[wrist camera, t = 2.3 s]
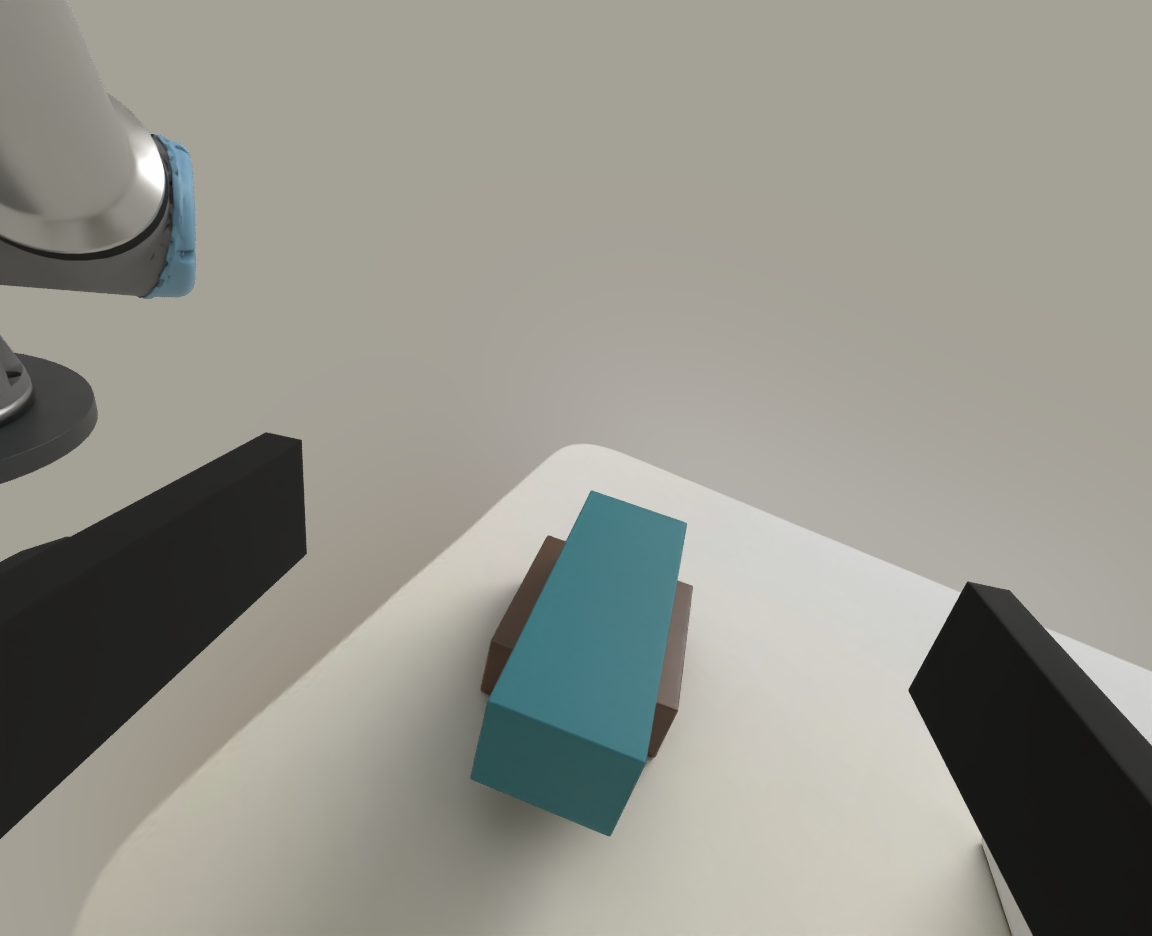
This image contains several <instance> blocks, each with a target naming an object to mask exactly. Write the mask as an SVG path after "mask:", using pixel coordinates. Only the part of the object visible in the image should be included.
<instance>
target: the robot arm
mask: <svg viewBox="0 0 1152 936" xmlns="http://www.w3.org/2000/svg"><path fill="white" fill-rule="evenodd" d="M195 240H196V238H195V205H194V186H193V171H192V163H191V160H190V154H189V152H188V150H187V149H186V148H185V147H184V146H182V145H181V144H180V143H177V142H174V141H170V140H167V139H165V138H164V137H163V136H161V135H155V134H151V135H150V134H149V132H148V131H147V130H146V129H145V127H144V126H143V125H142V123H141V122H140V121H139V120H138V119H137V118H136V117H135V116H134V114H133V113H132V112H131V111H130V110H129V109H127V108H126V107H125V106H124V105H123V104H122V103H121V102H120V101H118V100H117V99H115V98H114V97H113V96H111V95H110V94H109V93H107V92H106V90H105V88H104V85H103V83H102V81H101V78H100V76H99V74H98V71H97V69H96V66H95V64H94V62H93V59H92V57H91V54H90V52H89V50H88V47H87V45H86V43H85V40H84V38H83V36H82V33H81V31H80V28H79V26H78V24H77V21H76V19H75V17H74V14H73V12H72V10H71V7H70V5H69V3H68V0H0V285H10V286H23V287H34V288H47V289H59V290H71V291H83V292H96V293H108V294H121V295H133V296H138V297H139V298H145V299H151V298H153V297H181V296H185V295H187V294H188V293H189V292H190V291H191V290H192V289H193V287H194V284H195V271H196V263H195V261H196V260H195ZM34 399H35V394H34V390H33V386H32V383H31V379H30V377H29V375H28V373H27V371H26V369H25V367H24V366H23V364H22V363H21V362H20V360H19V359H18V358H17V356H16V355H15V354H14V353H13V351H12V350H11V349H10V347H9V346H8V345H7V343H6V342H5V341H4V340H3V338H2V337H1V336H0V428H1V427H3V426H5V425H7V424H9V423H11V422H13V421H15V420H16V419H18V418H19V417H21V416H22V415H23V414H25V413H26V412H27V411H28V410H29V409H30V407H31V406H32V404H33V402H34ZM306 554H307V549H306V527H305V507H304V484H303V461H302V440H299V439H294V438H290V437H285V436H281V435H276V434H271V433H264V434H262V435H260V436H258V437H256V438H255V439H253V440H251V441H249V442H247V443H245V444H243V445H241V446H239V447H238V448H236V449H234V450H232V451H230V452H228V453H226V454H225V455H223V456H221V457H219V458H217V459H215V460H213V461H212V462H210V463H208V464H206V465H204V466H202V467H200V468H198V469H196V470H195V471H193V472H191V473H189V474H187V475H185V476H183V477H181V478H180V479H178V480H176V481H174V482H172V483H170V484H168V485H166V486H165V487H163V488H161V489H159V490H157V491H155V492H153V493H152V494H150V495H148V496H146V497H144V498H142V499H140V500H138V501H137V502H135V503H133V504H131V505H129V506H127V507H125V508H124V509H122V510H120V511H118V512H116V513H114V514H112V515H110V516H108V517H107V518H105V519H103V520H101V521H99V522H97V523H95V524H93V525H92V526H90V527H88V528H86V529H84V530H83V531H80V532H78V533H77V534H75V535H73V536H71V537H64V538H61V539H58V540H55V541H52V542H48V543H46V544H42V545H39V546H36V547H33V548H30V549H26V550H23V551H21V552H19V553H17V554H15V555H13V556H11V557H9V558H7V559H5V560H3V561H1V562H0V839H1V838H2V837H3V836H4V835H5V834H6V833H7V832H8V831H9V830H10V829H12V827H14V826H15V825H16V824H17V823H18V822H19V821H20V820H21V819H22V818H23V817H24V816H25V815H27V814H28V813H29V812H30V811H31V810H32V809H33V808H34V807H35V806H36V805H37V804H38V803H39V802H41V801H42V800H43V799H44V798H45V797H46V796H47V795H48V794H49V793H50V792H51V791H52V790H53V789H54V788H56V786H58V785H59V784H60V783H61V782H62V781H63V780H64V779H65V778H66V777H67V776H68V775H70V774H71V773H72V772H73V771H74V770H75V769H76V768H77V767H78V766H79V765H80V764H81V763H82V762H83V761H84V760H85V759H87V758H88V757H89V756H90V755H91V754H92V753H93V752H94V751H95V750H96V749H97V748H99V747H100V746H101V745H102V744H103V743H104V742H105V741H106V740H107V739H108V738H109V737H110V736H111V735H113V734H114V733H115V732H116V731H117V730H118V729H119V728H120V727H121V726H122V725H123V724H124V723H125V722H127V721H128V719H130V718H131V717H132V716H133V715H134V714H135V713H136V712H137V711H138V710H139V709H140V708H141V707H143V705H145V704H146V703H147V702H148V701H149V700H150V699H151V698H152V697H153V696H154V695H156V694H157V693H158V692H159V691H160V690H161V689H162V688H163V687H164V686H165V685H166V684H167V683H168V682H169V681H171V680H172V679H173V678H174V677H175V676H176V675H177V674H178V673H179V672H180V671H181V670H182V669H183V668H185V667H186V666H187V665H188V664H189V663H190V662H191V661H192V660H193V659H194V658H195V657H196V656H197V655H199V654H200V653H201V652H202V651H203V650H204V649H205V648H206V647H207V646H208V645H209V644H210V643H211V642H212V641H214V639H216V638H217V637H218V636H219V635H220V634H221V633H222V632H223V631H224V630H225V629H226V628H228V627H229V626H230V625H231V624H232V623H233V622H234V621H235V620H236V619H237V618H238V617H239V616H240V615H242V614H243V613H244V612H245V611H246V610H247V609H248V608H249V607H250V606H251V605H252V604H253V603H254V602H255V601H257V599H258V598H260V597H261V596H262V595H263V594H264V593H265V592H266V591H267V590H268V589H269V588H270V587H272V586H273V585H274V584H275V583H276V582H277V581H278V580H279V579H280V578H281V577H282V576H283V575H284V574H286V573H287V572H288V571H289V570H290V569H291V568H292V567H293V566H294V565H295V564H296V563H297V562H298V561H300V560H301V559H302V558H303V557H304V556H305V555H306ZM908 691H909V693H910V695H911V697H912V699H913V701H914V703H915V705H916V707H917V709H918V711H919V713H920V714H921V716H922V718H923V720H924V722H925V724H926V726H927V728H928V730H929V732H930V734H931V736H932V738H933V740H934V742H935V744H936V746H937V748H938V750H939V752H940V754H941V756H942V758H943V760H944V762H945V764H946V766H947V768H948V770H949V772H950V774H951V776H952V778H953V780H954V781H955V783H956V785H957V787H958V789H959V791H960V793H961V795H962V797H963V799H964V801H965V803H966V805H967V807H968V809H969V811H970V813H971V815H972V817H973V819H974V821H975V823H976V825H977V827H978V829H979V831H980V833H981V835H982V837H983V839H984V841H985V843H986V845H987V847H988V849H989V850H990V852H991V854H992V856H993V858H994V860H995V862H996V864H997V866H998V868H999V870H1000V872H1001V874H1002V876H1003V878H1004V880H1005V882H1006V884H1007V886H1008V888H1009V890H1010V892H1011V894H1012V896H1013V898H1014V900H1015V902H1016V904H1017V906H1018V908H1019V910H1020V912H1021V914H1022V916H1023V918H1024V919H1025V921H1026V923H1027V925H1028V927H1029V929H1030V931H1031V933H1032V935H1033V936H1152V746H1151V744H1150V743H1149V742H1148V741H1147V740H1146V739H1145V738H1144V737H1143V736H1142V735H1141V734H1140V732H1139V731H1138V730H1137V729H1136V728H1135V727H1134V726H1133V725H1132V724H1131V723H1130V722H1129V720H1128V719H1127V718H1126V717H1125V716H1124V715H1123V714H1122V713H1121V712H1120V711H1119V709H1118V708H1117V707H1116V706H1115V705H1114V704H1113V703H1112V702H1111V701H1110V700H1109V699H1108V697H1107V696H1106V695H1105V694H1104V693H1103V692H1102V691H1101V690H1100V689H1099V688H1098V687H1097V685H1096V684H1095V683H1094V682H1093V681H1092V680H1091V679H1090V678H1089V677H1088V676H1087V675H1086V673H1085V672H1084V671H1083V670H1082V669H1081V668H1080V667H1079V666H1078V665H1077V664H1076V662H1075V661H1074V660H1073V659H1072V658H1071V657H1070V656H1069V655H1068V654H1067V653H1066V652H1065V650H1064V649H1063V648H1062V647H1061V646H1060V645H1059V644H1058V643H1057V642H1056V641H1055V640H1054V638H1053V637H1052V636H1051V635H1050V634H1049V633H1048V632H1047V631H1046V630H1045V629H1044V627H1043V626H1042V625H1041V624H1040V623H1039V622H1038V621H1037V620H1036V619H1035V618H1034V617H1033V616H1032V615H1031V613H1030V612H1029V611H1028V610H1027V609H1026V608H1025V607H1024V606H1023V605H1022V604H1021V602H1020V601H1019V600H1018V599H1017V598H1016V597H1015V596H1014V595H1013V594H1012V593H1011V591H1009V590H1005V589H1000V588H995V587H991V586H986V585H981V584H977V583H972V582H967V583H966V585H965V587H964V589H963V590H962V592H961V594H960V596H959V598H958V600H957V601H956V603H955V605H954V607H953V609H952V611H951V613H950V614H949V616H948V618H947V620H946V622H945V624H944V625H943V627H942V629H941V631H940V633H939V635H938V636H937V638H936V640H935V642H934V644H933V646H932V647H931V649H930V651H929V653H928V655H927V657H926V658H925V660H924V662H923V664H922V666H921V668H920V669H919V671H918V673H917V675H916V677H915V679H914V680H913V682H912V684H911V686H910V688H909V690H908Z"/></svg>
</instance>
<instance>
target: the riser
mask: <svg viewBox="0 0 1152 936" xmlns="http://www.w3.org/2000/svg"><path fill="white" fill-rule="evenodd" d="M565 542H566V541H563V540H560V539H557V538H554V537H552V536H547V537H546V539H545V541H544V543H543V545H542V547H541V548H540V550H539V552H538V554H537V556H536V558H535V560H534V561H533V563H532V565H531V567H530V569H529V571H528V573H527V574H526V576H525V578H524V580H523V582H522V584H521V586H520V588H519V589H518V591H517V593H516V595H515V597H514V599H513V601H512V602H511V604H510V606H509V608H508V610H507V612H506V614H505V615H504V617H503V619H502V621H501V623H500V625H499V627H498V628H497V630H496V632H495V634H494V636H493V638H492V640H491V643H490V647H489V652H488V657H487V661H486V666H485V671H484V675H483V680H482V685H481V691H483V692H486V693H488V694H491V693H492V691H493V689H494V687H495V685H496V683H497V681H498V679H499V677H500V675H501V673H502V671H503V669H504V667H505V664H506V662H507V660H508V658H509V656H510V654H511V652H512V650H513V648H514V646H515V644H516V642H517V640H518V638H519V636H520V634H521V632H522V630H523V628H524V626H525V624H526V622H527V620H528V618H529V616H530V614H531V612H532V610H533V608H534V605H535V603H536V601H537V599H538V597H539V595H540V593H541V591H542V589H543V587H544V585H545V583H546V581H547V579H548V577H549V575H550V573H551V571H552V569H553V567H554V565H555V563H556V561H557V559H558V557H559V555H560V553H561V551H562V549H563V546H564V544H565ZM692 590H693V586H692V585H689V584H686V583H683V582H680V581H677V585H676V591H675V597H674V603H673V609H672V614H671V620H670V626H669V632H668V638H667V644H666V649H665V655H664V661H663V667H662V673H661V678H660V684H659V690H658V696H657V702H656V708H655V713H654V719H653V725H652V731H651V737H650V742H649V748H648V754H647V755H648V756H651V757H653V758H654V757H655V756H656V754H657V752H658V750H659V748H660V746H661V744H662V742H663V740H664V738H665V736H666V734H667V732H668V730H669V728H670V726H671V724H672V722H673V720H674V718H675V716H676V714H677V712H678V706H679V698H680V689H681V681H682V673H683V665H684V656H685V648H686V640H687V631H688V623H689V615H690V607H691V598H692Z"/></svg>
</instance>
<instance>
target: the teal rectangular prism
mask: <svg viewBox="0 0 1152 936" xmlns="http://www.w3.org/2000/svg"><path fill="white" fill-rule="evenodd" d="M686 527H687V523H685V522H683V521H680V520H677V519H674V518H671V517H668V516H665V515H662V514H659V513H656V512H653V511H650V510H647V509H644V508H642V507H639V506H636V505H633V504H630V503H627V502H624V501H621V500H618V499H615V498H612V497H609V496H606V495H603V494H601V493H598V492H595V491H591V492H590V494H589V496H588V498H587V500H586V502H585V504H584V506H583V508H582V510H581V512H580V514H579V516H578V518H577V520H576V522H575V524H574V526H573V528H572V530H571V532H570V534H569V536H568V538H567V540H566V542H565V544H564V546H563V549H562V551H561V553H560V555H559V557H558V559H557V561H556V563H555V565H554V567H553V569H552V571H551V573H550V575H549V577H548V579H547V581H546V583H545V585H544V587H543V589H542V591H541V593H540V595H539V597H538V599H537V601H536V603H535V605H534V608H533V610H532V612H531V614H530V616H529V618H528V620H527V622H526V624H525V626H524V628H523V630H522V632H521V634H520V636H519V638H518V640H517V642H516V644H515V646H514V648H513V650H512V652H511V654H510V656H509V658H508V660H507V662H506V664H505V667H504V669H503V671H502V673H501V675H500V677H499V679H498V681H497V683H496V685H495V687H494V689H493V691H492V693H491V695H490V697H489V699H488V702H487V706H486V711H485V715H484V719H483V724H482V728H481V733H480V737H479V741H478V746H477V750H476V755H475V759H474V763H473V768H472V772H471V779H472V780H474V781H476V782H479V783H481V784H484V785H486V786H489V787H491V788H493V789H496V790H498V791H501V792H503V793H505V794H508V795H510V796H513V797H515V798H517V799H520V800H522V801H525V802H527V803H529V804H532V805H534V806H537V807H539V808H542V809H544V810H546V811H549V812H551V813H554V814H556V815H558V816H561V817H563V818H566V819H568V820H570V821H573V822H575V823H578V824H580V825H582V826H585V827H587V828H590V829H592V830H595V831H597V832H599V833H602V834H604V835H607V836H611V834H612V832H613V830H614V828H615V826H616V824H617V822H618V820H619V818H620V816H621V814H622V812H623V809H624V807H625V805H626V803H627V801H628V799H629V797H630V795H631V793H632V791H633V789H634V787H635V785H636V783H637V781H638V779H639V776H640V774H641V772H642V770H643V768H644V766H645V764H646V760H647V754H648V748H649V742H650V737H651V731H652V725H653V719H654V713H655V708H656V702H657V696H658V690H659V684H660V678H661V673H662V667H663V661H664V655H665V649H666V644H667V638H668V632H669V626H670V620H671V614H672V609H673V603H674V597H675V591H676V585H677V580H678V574H679V568H680V562H681V556H682V550H683V545H684V539H685V533H686Z"/></svg>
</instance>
